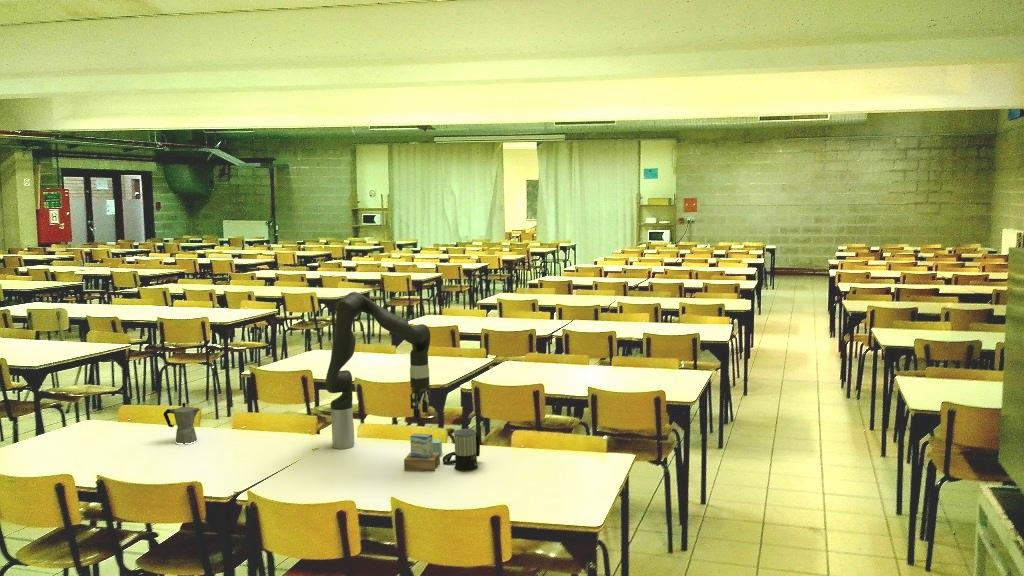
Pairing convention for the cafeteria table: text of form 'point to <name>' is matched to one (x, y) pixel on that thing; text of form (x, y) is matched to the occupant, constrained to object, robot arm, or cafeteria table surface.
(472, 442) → the milk frother
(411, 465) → the walnut block
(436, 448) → the teal block
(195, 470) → the cafeteria table surface
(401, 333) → the robot arm
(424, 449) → the medicine box
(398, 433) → the cafeteria table surface
